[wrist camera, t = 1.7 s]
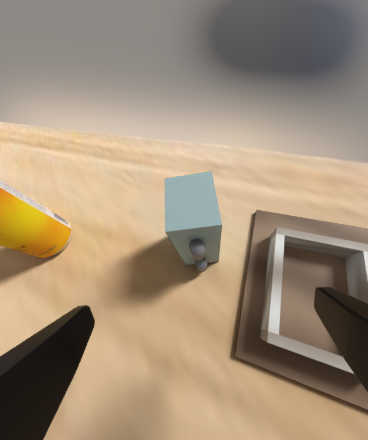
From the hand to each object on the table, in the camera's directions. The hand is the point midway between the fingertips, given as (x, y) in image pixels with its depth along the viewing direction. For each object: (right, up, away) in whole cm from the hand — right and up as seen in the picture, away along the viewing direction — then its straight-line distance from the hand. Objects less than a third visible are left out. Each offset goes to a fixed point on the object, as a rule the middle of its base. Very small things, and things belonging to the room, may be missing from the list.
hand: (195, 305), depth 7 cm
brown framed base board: (+12, -4, +11) cm, 17 cm away
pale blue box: (+2, 0, +15) cm, 15 cm away
